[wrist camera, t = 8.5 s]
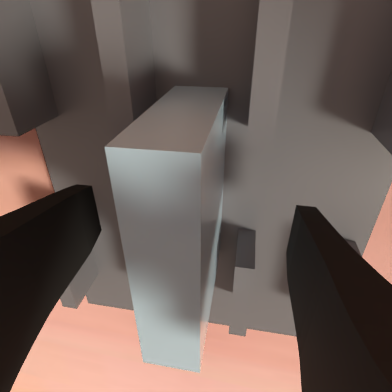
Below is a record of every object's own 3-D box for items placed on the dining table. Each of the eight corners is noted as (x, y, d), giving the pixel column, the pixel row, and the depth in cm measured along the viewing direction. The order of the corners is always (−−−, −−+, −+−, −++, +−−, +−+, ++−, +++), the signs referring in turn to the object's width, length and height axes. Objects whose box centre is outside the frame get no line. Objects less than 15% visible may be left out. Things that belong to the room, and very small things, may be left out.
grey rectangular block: (228, 87, 11) (201, 153, 6) (219, 251, 15) (199, 372, 10) (175, 85, 11) (104, 146, 6) (181, 247, 15) (143, 362, 10)
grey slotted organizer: (508, -170, 7) (676, -293, 4) (324, 326, 18) (337, 387, 15) (-18, -124, 10) (-140, -184, 7) (95, 291, 20) (67, 338, 17)
